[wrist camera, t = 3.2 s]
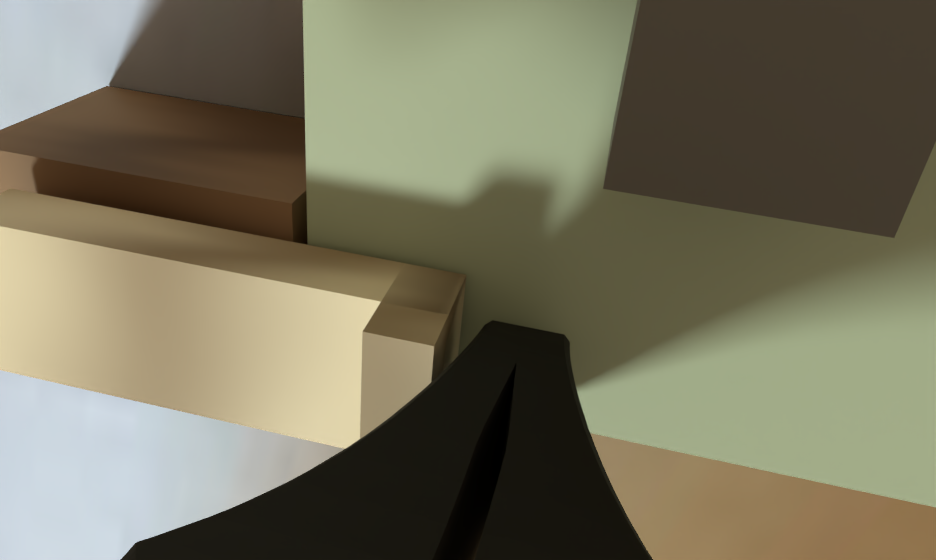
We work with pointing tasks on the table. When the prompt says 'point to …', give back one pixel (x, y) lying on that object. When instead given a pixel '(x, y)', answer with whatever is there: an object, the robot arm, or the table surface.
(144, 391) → the tan wooden bar
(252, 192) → the toolbox base
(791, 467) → the toolbox lid
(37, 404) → the table surface
